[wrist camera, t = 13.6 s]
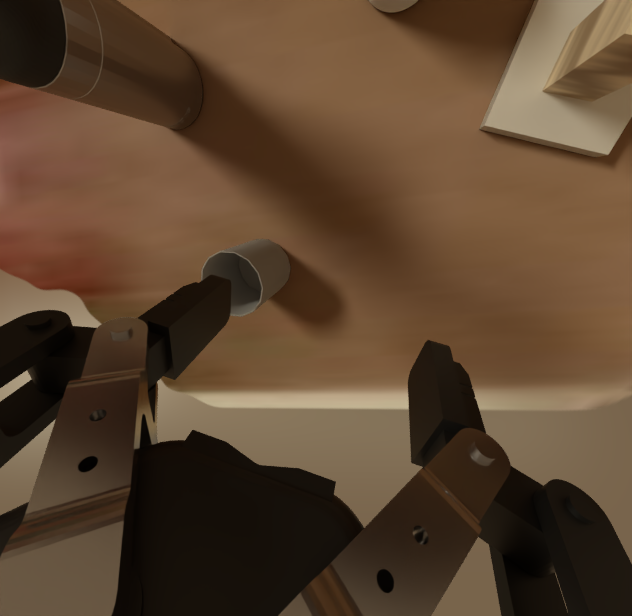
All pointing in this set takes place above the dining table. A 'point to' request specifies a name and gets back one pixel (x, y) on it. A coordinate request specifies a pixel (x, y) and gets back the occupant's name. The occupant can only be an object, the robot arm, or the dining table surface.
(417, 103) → the dining table surface
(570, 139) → the block
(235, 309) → the cup
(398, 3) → the pill bottle
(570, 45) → the maple block
